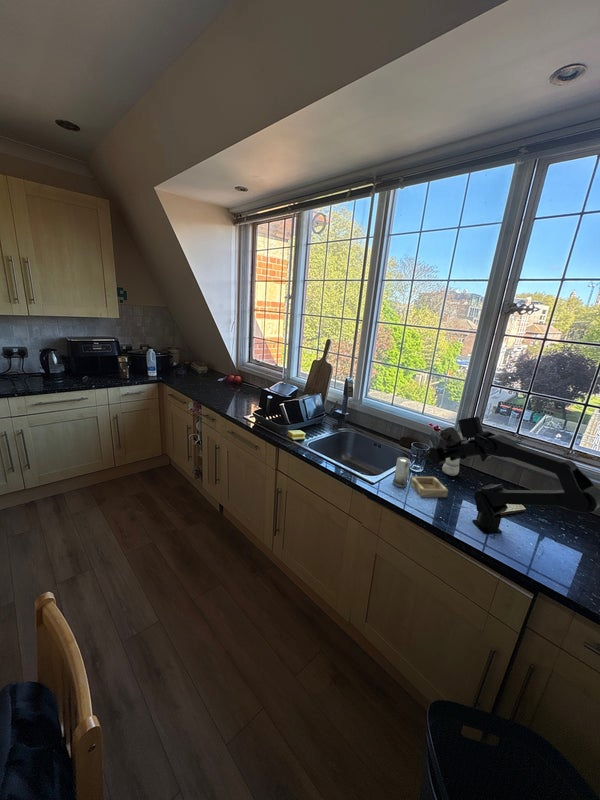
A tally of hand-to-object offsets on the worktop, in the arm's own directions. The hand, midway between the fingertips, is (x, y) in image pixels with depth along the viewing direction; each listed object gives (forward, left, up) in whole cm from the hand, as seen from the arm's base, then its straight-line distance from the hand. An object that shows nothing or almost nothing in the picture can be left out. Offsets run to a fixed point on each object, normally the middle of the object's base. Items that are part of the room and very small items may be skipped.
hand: (430, 455), depth 124 cm
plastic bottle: (+13, -19, -15) cm, 28 cm away
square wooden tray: (0, -2, -15) cm, 15 cm away
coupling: (+4, +8, -15) cm, 18 cm away
